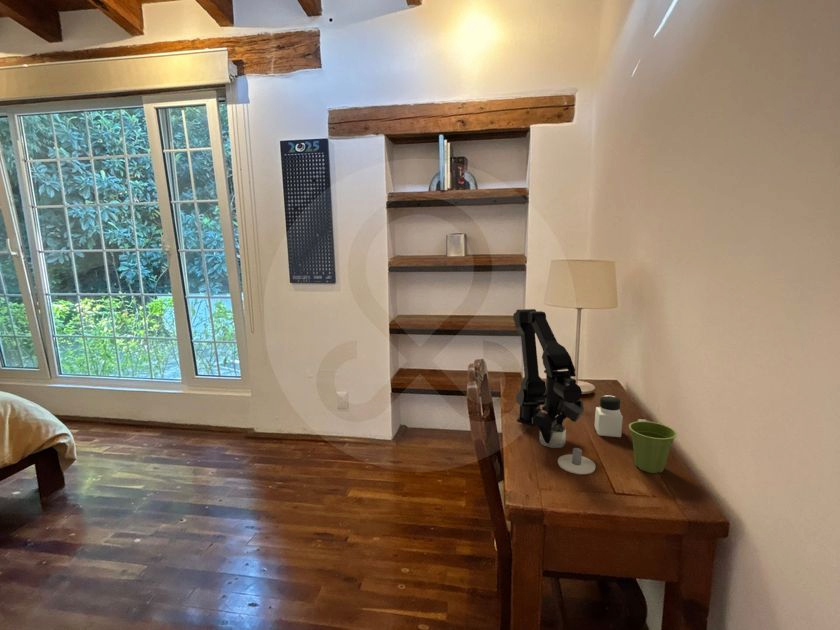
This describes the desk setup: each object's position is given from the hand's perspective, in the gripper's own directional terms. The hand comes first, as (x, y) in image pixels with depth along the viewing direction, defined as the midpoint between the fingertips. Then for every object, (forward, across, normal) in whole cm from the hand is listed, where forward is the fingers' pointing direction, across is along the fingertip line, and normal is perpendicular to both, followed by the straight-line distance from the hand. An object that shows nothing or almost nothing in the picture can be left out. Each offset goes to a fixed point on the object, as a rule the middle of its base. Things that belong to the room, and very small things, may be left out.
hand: (552, 438), depth 139 cm
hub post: (+1, -9, -11) cm, 14 cm away
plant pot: (+1, +3, -27) cm, 27 cm away
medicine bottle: (+1, +19, -11) cm, 22 cm away
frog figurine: (+1, +20, -22) cm, 30 cm away
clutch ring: (+1, 0, 0) cm, 1 cm away
